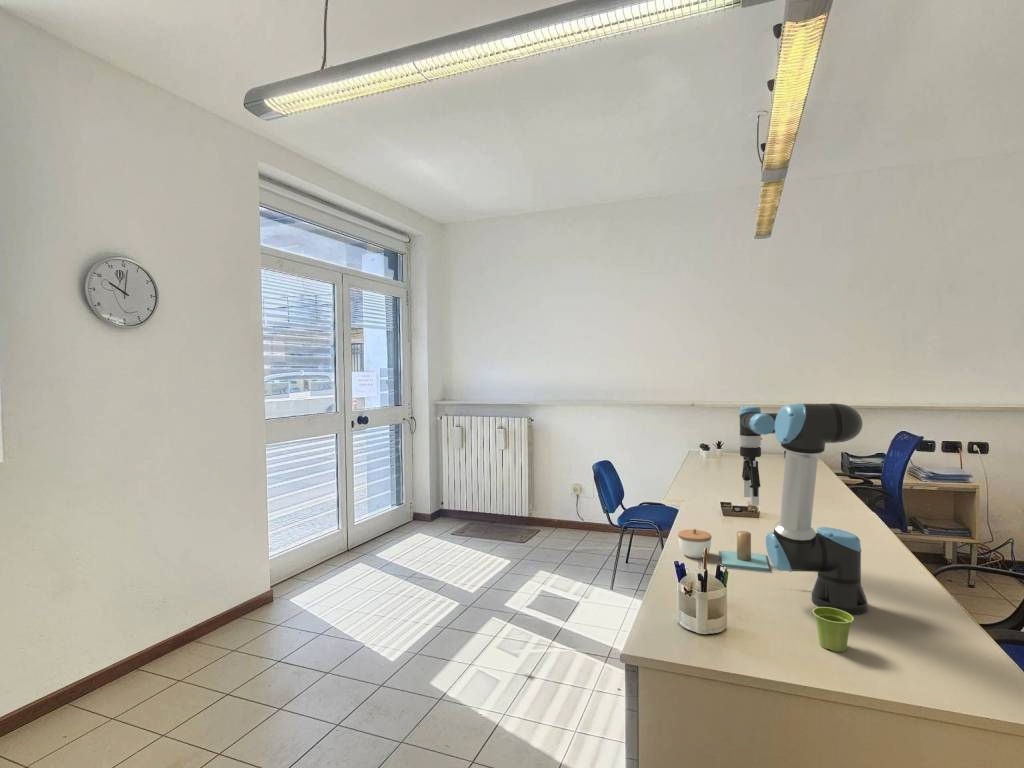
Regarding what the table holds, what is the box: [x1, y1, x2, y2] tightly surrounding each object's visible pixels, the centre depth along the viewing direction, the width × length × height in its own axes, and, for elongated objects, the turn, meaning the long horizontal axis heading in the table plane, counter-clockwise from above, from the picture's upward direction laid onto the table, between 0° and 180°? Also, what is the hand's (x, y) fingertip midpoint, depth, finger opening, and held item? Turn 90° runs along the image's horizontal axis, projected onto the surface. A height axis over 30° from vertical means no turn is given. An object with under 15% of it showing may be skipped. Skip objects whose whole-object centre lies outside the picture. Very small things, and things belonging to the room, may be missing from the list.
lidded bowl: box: [677, 528, 712, 559], centre depth 216 cm, size 13×13×11 cm
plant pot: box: [812, 606, 855, 653], centre depth 144 cm, size 9×9×9 cm
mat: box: [718, 550, 773, 574], centre depth 208 cm, size 20×18×1 cm
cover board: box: [720, 530, 769, 571], centre depth 208 cm, size 16×16×11 cm
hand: (751, 500), depth 210 cm, fingers open, 13 cm apart
